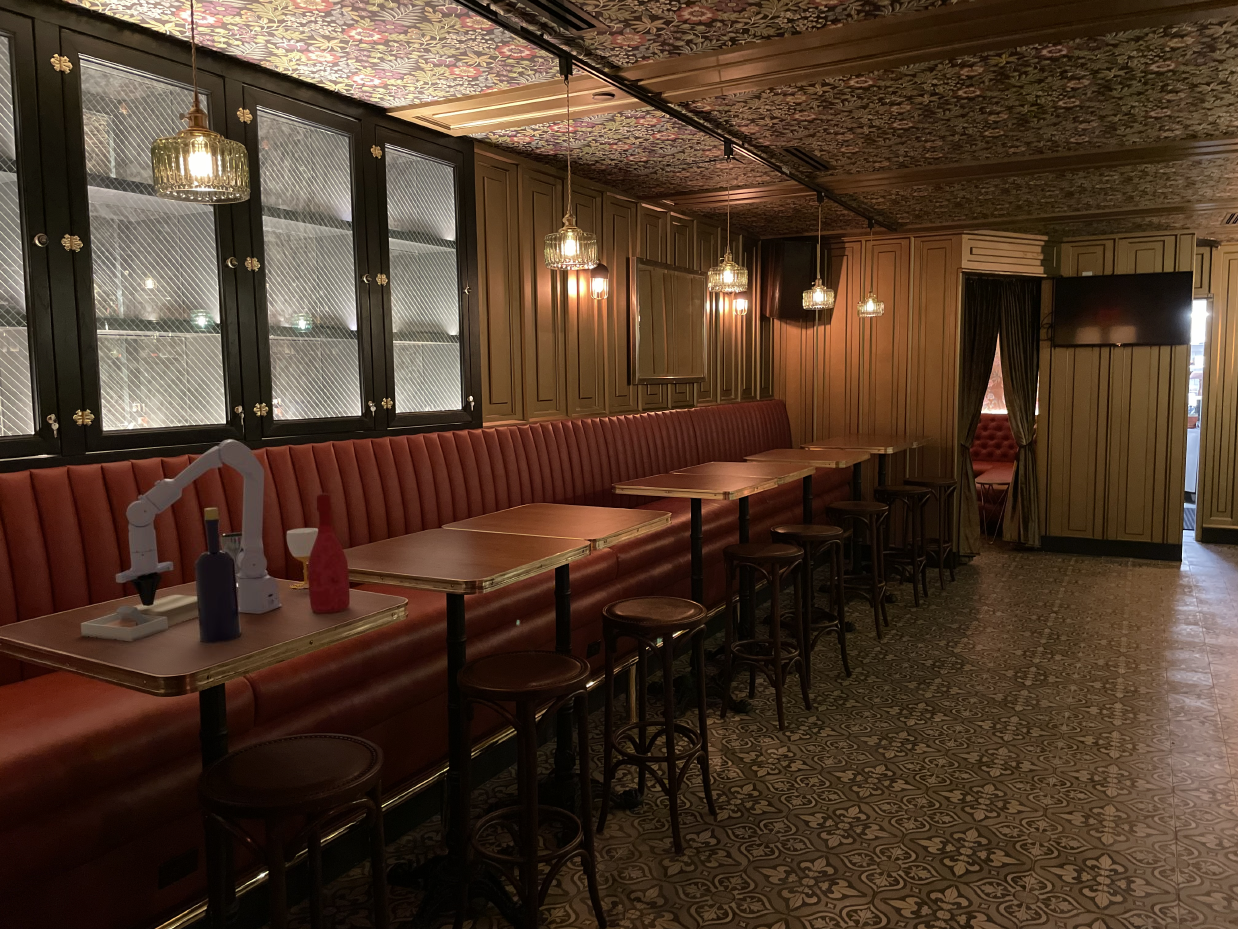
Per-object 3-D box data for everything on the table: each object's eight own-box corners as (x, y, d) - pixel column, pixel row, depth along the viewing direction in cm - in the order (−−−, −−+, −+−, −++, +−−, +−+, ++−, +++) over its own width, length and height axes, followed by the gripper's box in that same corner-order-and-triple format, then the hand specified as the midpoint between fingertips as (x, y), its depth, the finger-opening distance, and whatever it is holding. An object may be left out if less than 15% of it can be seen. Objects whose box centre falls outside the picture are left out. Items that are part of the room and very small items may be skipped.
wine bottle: (301, 613, 220) (293, 495, 217) (328, 603, 229) (321, 490, 226) (332, 616, 216) (325, 496, 213) (358, 606, 225) (351, 491, 222)
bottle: (211, 631, 205) (201, 506, 202) (249, 631, 205) (240, 505, 202) (190, 643, 196) (180, 512, 193) (231, 642, 196) (220, 511, 193)
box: (168, 629, 208) (167, 617, 208) (131, 641, 199) (130, 628, 199) (119, 624, 214) (118, 612, 214) (81, 635, 205) (80, 623, 204)
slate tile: (136, 607, 206) (130, 613, 205) (146, 622, 209) (140, 628, 208) (121, 605, 208) (115, 611, 207) (131, 620, 211) (125, 626, 209)
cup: (294, 591, 243) (290, 534, 242) (285, 585, 251) (281, 530, 249) (327, 585, 249) (323, 530, 247) (317, 580, 256) (313, 526, 254)
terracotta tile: (116, 627, 202) (117, 635, 202) (135, 621, 206) (136, 629, 207) (101, 625, 204) (102, 633, 204) (120, 619, 208) (121, 628, 208)
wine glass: (242, 589, 248) (238, 537, 246) (218, 588, 249) (214, 537, 248) (259, 582, 255) (256, 532, 254) (235, 582, 257) (231, 532, 255)
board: (209, 612, 222) (208, 597, 222) (163, 628, 209) (162, 611, 209) (174, 609, 227) (173, 594, 226) (127, 624, 214) (126, 608, 213)
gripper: (156, 544, 219) (161, 596, 220) (104, 555, 206) (109, 611, 207) (177, 545, 217) (182, 598, 218) (126, 557, 203) (131, 613, 204)
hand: (148, 605), depth 212 cm, fingers closed
